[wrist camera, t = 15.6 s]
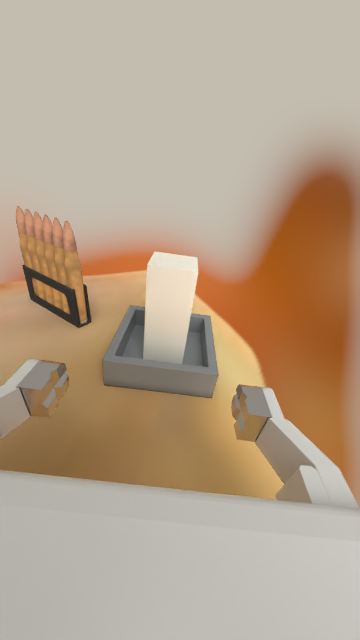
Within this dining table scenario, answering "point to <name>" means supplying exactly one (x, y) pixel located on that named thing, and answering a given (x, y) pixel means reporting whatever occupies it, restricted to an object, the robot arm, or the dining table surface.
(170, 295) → the cream block
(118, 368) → the box
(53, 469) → the dining table surface
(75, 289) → the ammunition clip
